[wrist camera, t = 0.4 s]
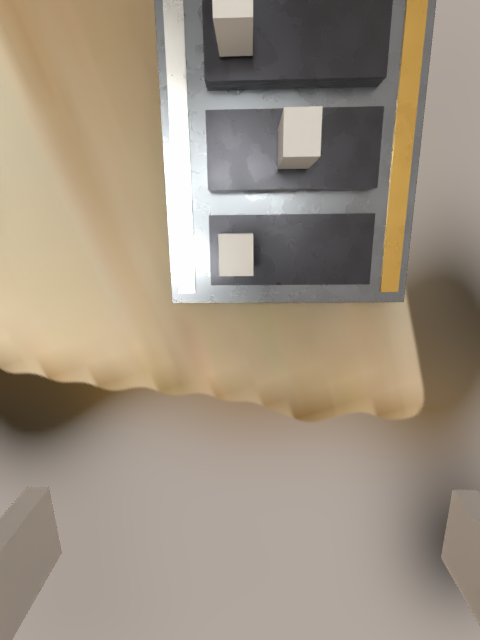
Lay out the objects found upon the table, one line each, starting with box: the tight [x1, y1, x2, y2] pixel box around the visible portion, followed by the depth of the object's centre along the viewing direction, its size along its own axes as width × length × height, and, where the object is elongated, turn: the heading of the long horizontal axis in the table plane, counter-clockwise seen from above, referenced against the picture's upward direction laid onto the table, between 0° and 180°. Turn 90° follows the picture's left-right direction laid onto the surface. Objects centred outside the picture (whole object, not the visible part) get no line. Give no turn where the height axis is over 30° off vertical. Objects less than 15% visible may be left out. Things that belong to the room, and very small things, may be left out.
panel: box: [154, 0, 436, 303], centre depth 31 cm, size 26×22×4 cm
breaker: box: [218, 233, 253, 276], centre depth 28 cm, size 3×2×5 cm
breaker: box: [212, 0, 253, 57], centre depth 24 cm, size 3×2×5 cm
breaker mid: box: [278, 106, 323, 169], centre depth 26 cm, size 3×2×5 cm
